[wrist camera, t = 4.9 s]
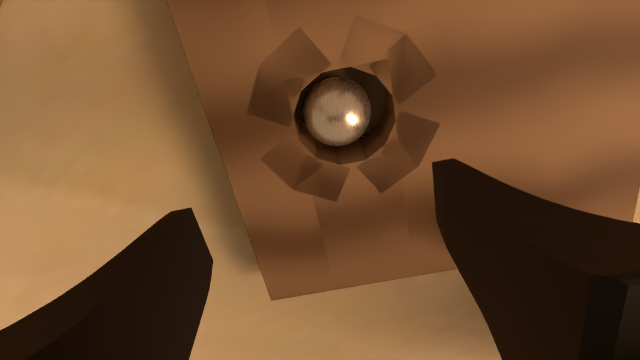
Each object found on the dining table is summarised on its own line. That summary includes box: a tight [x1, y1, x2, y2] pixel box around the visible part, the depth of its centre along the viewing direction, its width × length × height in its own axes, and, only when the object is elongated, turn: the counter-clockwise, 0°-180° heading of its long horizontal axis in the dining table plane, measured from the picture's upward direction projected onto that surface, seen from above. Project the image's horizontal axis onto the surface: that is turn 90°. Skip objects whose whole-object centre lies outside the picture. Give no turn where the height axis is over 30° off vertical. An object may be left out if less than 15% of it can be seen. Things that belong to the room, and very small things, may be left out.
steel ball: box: [303, 77, 371, 146], centre depth 19 cm, size 3×3×3 cm
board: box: [166, 0, 640, 301], centre depth 19 cm, size 20×20×2 cm
